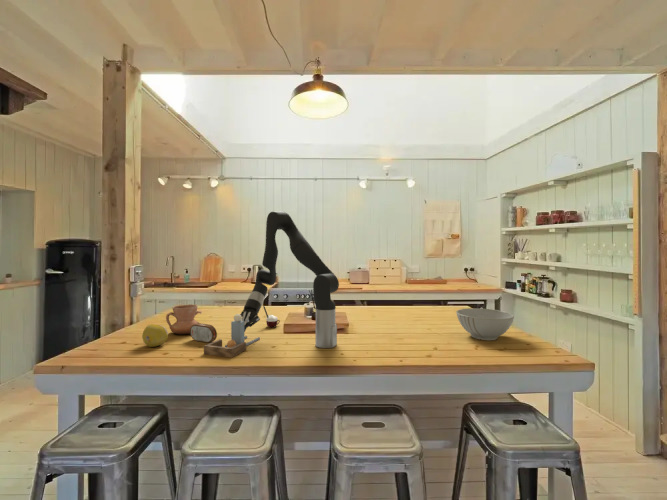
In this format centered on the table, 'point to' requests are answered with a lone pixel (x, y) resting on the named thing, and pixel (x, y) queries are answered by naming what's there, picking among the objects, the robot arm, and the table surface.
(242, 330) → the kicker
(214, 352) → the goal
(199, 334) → the tin
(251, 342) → the lane
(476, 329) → the decorative bowl
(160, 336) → the fruit
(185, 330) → the ceramic jug
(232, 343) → the ball
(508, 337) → the table surface
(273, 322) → the cocoa
